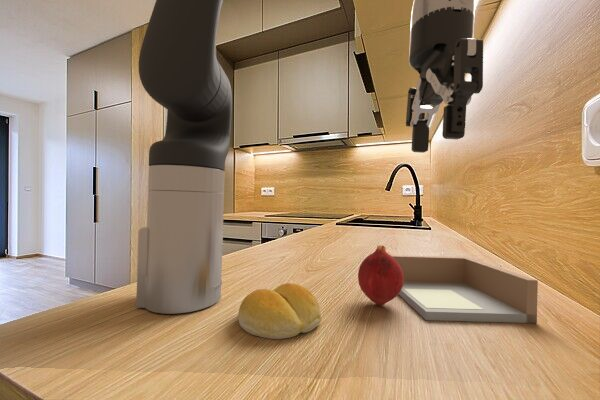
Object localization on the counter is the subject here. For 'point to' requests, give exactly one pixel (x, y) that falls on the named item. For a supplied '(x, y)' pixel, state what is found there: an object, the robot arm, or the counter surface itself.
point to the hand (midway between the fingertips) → (434, 146)
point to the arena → (466, 290)
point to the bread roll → (279, 312)
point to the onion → (380, 276)
